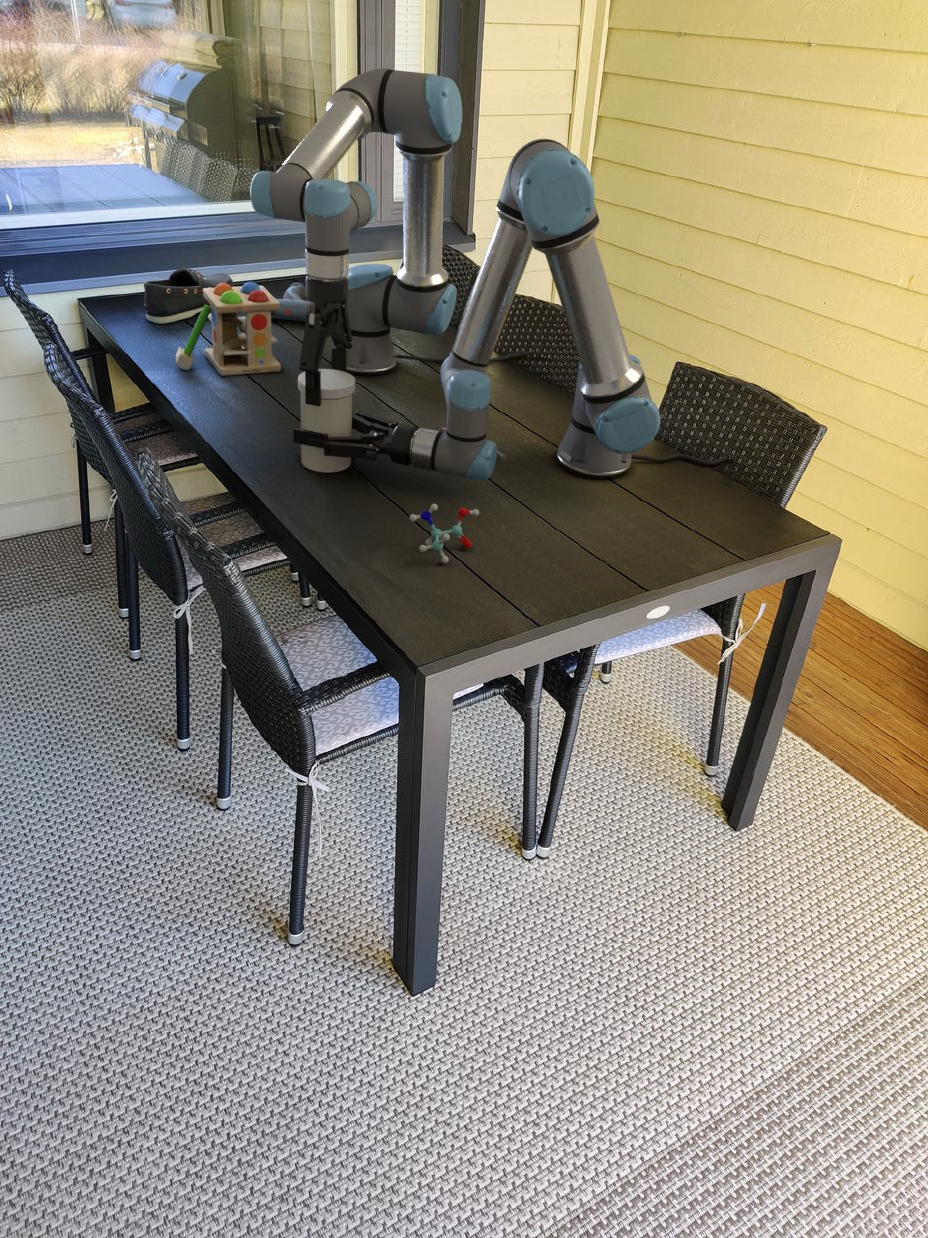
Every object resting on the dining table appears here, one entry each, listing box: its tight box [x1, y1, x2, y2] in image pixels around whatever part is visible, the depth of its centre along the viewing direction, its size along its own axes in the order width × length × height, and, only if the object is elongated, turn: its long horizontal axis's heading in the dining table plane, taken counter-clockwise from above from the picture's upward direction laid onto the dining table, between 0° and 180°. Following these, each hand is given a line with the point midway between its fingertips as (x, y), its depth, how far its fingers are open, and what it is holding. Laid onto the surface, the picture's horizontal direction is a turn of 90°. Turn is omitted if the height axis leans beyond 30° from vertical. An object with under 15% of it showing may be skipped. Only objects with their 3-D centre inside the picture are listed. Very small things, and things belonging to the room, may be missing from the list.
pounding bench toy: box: [174, 281, 282, 377], centre depth 225 cm, size 23×14×18 cm, turn 116°
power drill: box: [271, 282, 314, 322], centre depth 265 cm, size 5×19×20 cm
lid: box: [297, 368, 356, 399], centre depth 184 cm, size 11×11×2 cm
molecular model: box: [408, 503, 480, 564], centre depth 166 cm, size 12×10×10 cm
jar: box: [299, 390, 354, 473], centre depth 188 cm, size 10×10×16 cm
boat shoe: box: [143, 267, 235, 324], centre depth 260 cm, size 13×33×10 cm, turn 147°
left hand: (326, 393), depth 185 cm, fingers open, 12 cm apart
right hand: (305, 425), depth 190 cm, fingers closed on jar, 10 cm apart
